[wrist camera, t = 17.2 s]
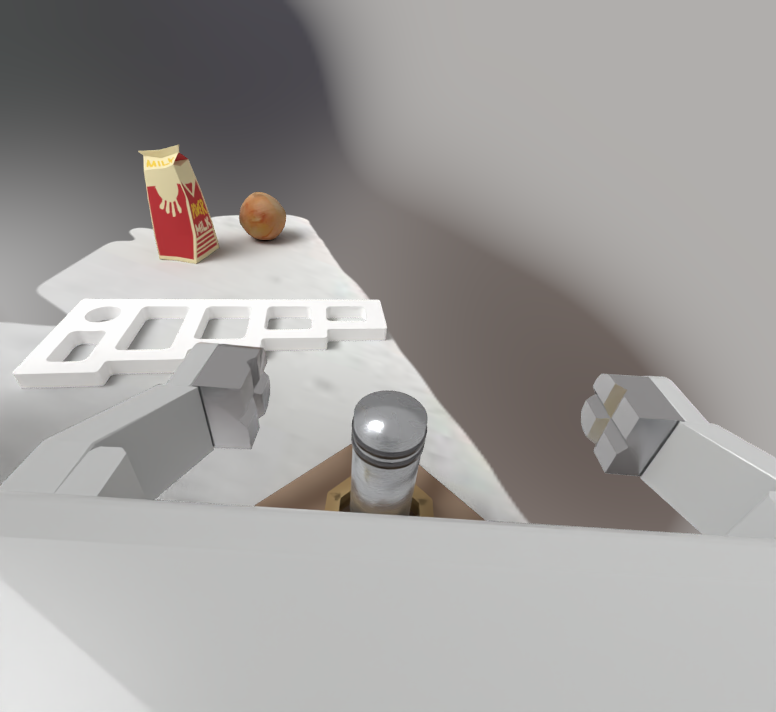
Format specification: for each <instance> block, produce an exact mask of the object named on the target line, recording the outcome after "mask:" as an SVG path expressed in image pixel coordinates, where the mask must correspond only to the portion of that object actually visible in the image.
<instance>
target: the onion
mask: <svg viewBox="0 0 776 712" xmlns="http://www.w3.org/2000/svg"><path fill="white" fill-rule="evenodd" d="M239 220H240V224H241V225H242V227H243V228H244V230H245V231H246V232H247V233H248V234H249V235H251V236H252V237H253V238H255V239H260V240H272V239H274V238H276V237H277V236H278V235H279V234H280V233H281V232H282V230H283V228H284V226H285V222H286V213H285V210H284V209H283V207H282V206H281V205H280V203H279V202H278V201H277V200H276V199H274V198H273V197H272V196H270V195H268V194H266V193H261V192H255V193H253V194H251V195H250V196H249V197H247V198H246V200H245V201H244V202H243V204H242V206H241V209H240V215H239Z"/></svg>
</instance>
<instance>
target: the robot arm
mask: <svg viewBox="0 0 776 712" xmlns="http://www.w3.org/2000/svg"><path fill="white" fill-rule="evenodd" d="M266 364H267V357H266V351H265V350H264V348H261V347H251V346H240V345H230V344H219V343H206V342H199V343H196V344H195V345H194V346H193V348H192V349H191V350H190V352H189V353H188V354H187V356H186V357H185V359H184V360H183V361H182V363H181V364H180V365H179V367H178V368H177V369H176V371H175V372H174V374H173V375H172V376H171V378H170V379H169V380H168V382H167V383H166V384H158V385H156V386H154V387H152V388H149V389H147V390H145V391H143V392H141V393H139V394H137V395H135V396H133V397H131V398H129V399H127V400H125V401H123V402H121V403H119V404H117V405H115V406H113V407H110V408H108V409H106V410H104V411H102V412H100V413H98V414H96V415H94V416H92V417H90V418H88V419H86V420H84V421H82V422H80V423H78V424H76V425H74V426H72V427H69V428H67V429H65V430H63V431H61V432H59V433H57V434H55V435H53V436H51V437H49V438H47V439H45V440H43V441H42V442H41V443H40V444H39V445H38V446H37V447H36V448H35V449H34V450H33V451H32V452H31V453H30V455H29V456H28V457H27V458H26V459H25V460H24V461H23V462H22V463H21V464H20V465H19V466H18V467H17V468H16V469H15V470H14V471H13V472H12V473H11V474H10V475H9V477H8V478H7V479H6V480H5V481H4V482H3V483H2V484H1V485H0V712H776V458H775V457H774V456H772V455H770V454H768V453H766V452H765V451H763V450H761V449H759V448H758V447H756V446H754V445H752V444H751V443H749V442H747V441H745V440H743V439H742V438H740V437H738V436H736V435H734V434H733V433H731V432H729V431H727V430H726V429H724V428H722V427H720V426H718V425H717V424H709V423H708V421H707V420H706V419H705V418H704V417H703V416H702V415H701V414H700V412H699V411H698V410H697V409H696V408H695V407H694V406H693V405H692V403H691V402H690V401H689V400H688V399H687V398H686V396H685V395H684V394H683V393H682V392H681V391H680V390H679V389H678V388H677V386H676V385H675V384H674V383H673V382H672V381H671V380H670V379H668V378H666V377H656V376H629V375H614V374H601V375H600V376H599V377H598V378H597V379H596V381H595V383H594V385H593V388H594V391H595V394H594V395H593V396H591V397H590V398H588V399H587V400H586V401H585V404H584V406H583V408H582V412H581V424H582V428H583V431H584V432H585V435H586V437H588V438H589V439H590V440H591V441H593V442H594V443H595V444H596V446H595V449H594V453H595V455H596V456H597V458H598V460H599V462H600V464H601V466H602V468H603V470H604V472H605V473H610V474H620V475H631V476H641V477H640V478H641V479H642V480H643V481H644V482H645V483H646V484H647V485H648V486H650V487H651V488H652V489H653V490H654V491H655V492H656V493H657V494H658V495H660V496H661V497H662V498H663V499H664V500H665V501H666V502H667V503H668V504H669V505H671V506H672V507H673V508H674V509H675V510H676V511H677V512H678V513H679V514H681V515H682V516H683V517H684V518H685V519H686V520H687V521H688V522H689V523H690V524H692V525H693V526H694V527H695V528H696V529H697V530H698V531H699V532H701V533H702V534H687V533H671V532H655V531H639V530H624V529H607V528H593V527H576V526H561V525H545V524H530V523H514V522H498V521H482V520H466V519H450V518H434V517H418V516H402V515H386V514H370V513H355V512H339V511H323V510H307V509H291V508H275V507H259V506H243V505H227V504H211V503H196V502H180V501H164V500H154V499H155V498H157V497H158V496H159V495H160V494H161V493H163V492H164V491H165V490H166V489H167V488H169V487H170V486H171V485H172V484H173V483H175V482H176V481H177V480H178V479H179V478H180V477H182V476H183V475H184V474H185V473H186V472H188V471H189V470H190V469H191V468H192V467H194V466H195V465H196V464H197V463H198V462H200V461H201V460H202V459H203V458H204V457H206V456H207V455H208V454H209V453H210V452H212V451H213V450H214V448H234V449H251V448H252V446H253V443H254V441H255V438H256V435H257V433H258V430H259V421H258V418H260V417H261V416H263V415H264V414H265V412H266V409H267V406H268V401H269V395H270V381H269V376H268V375H267V374H266V373H265V372H264V369H265V366H266Z"/></svg>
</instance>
